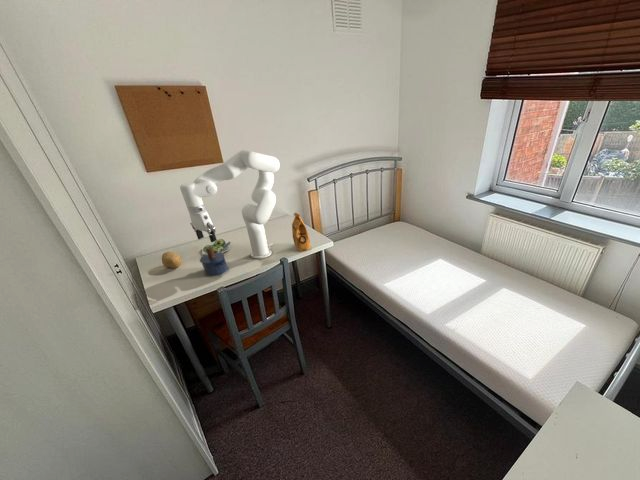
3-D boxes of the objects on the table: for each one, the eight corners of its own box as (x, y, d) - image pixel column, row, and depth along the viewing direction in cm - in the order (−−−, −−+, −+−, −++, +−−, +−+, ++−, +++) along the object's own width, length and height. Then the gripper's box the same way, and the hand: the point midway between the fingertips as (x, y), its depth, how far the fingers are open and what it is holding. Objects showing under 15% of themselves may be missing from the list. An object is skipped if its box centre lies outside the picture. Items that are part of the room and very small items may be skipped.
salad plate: (234, 253, 183) (232, 247, 181) (203, 260, 176) (200, 253, 174) (230, 242, 198) (229, 236, 196) (201, 248, 191) (199, 241, 188)
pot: (214, 264, 172) (210, 251, 168) (235, 270, 166) (231, 256, 161) (197, 273, 163) (193, 259, 159) (219, 279, 157) (214, 266, 153)
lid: (214, 252, 167) (210, 241, 164) (229, 256, 163) (226, 245, 159) (195, 262, 158) (191, 250, 154) (211, 266, 153) (207, 254, 150)
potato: (168, 273, 163) (163, 261, 159) (161, 265, 172) (156, 253, 167) (187, 267, 169) (182, 255, 165) (179, 259, 177) (175, 247, 173)
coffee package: (296, 252, 183) (291, 219, 172) (293, 244, 193) (288, 212, 182) (311, 250, 186) (307, 217, 175) (308, 242, 196) (304, 210, 185)
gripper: (214, 208, 145) (224, 239, 154) (191, 204, 152) (202, 234, 161) (202, 213, 139) (213, 245, 149) (178, 209, 146) (190, 240, 155)
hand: (207, 239), depth 155 cm, fingers open, 9 cm apart
